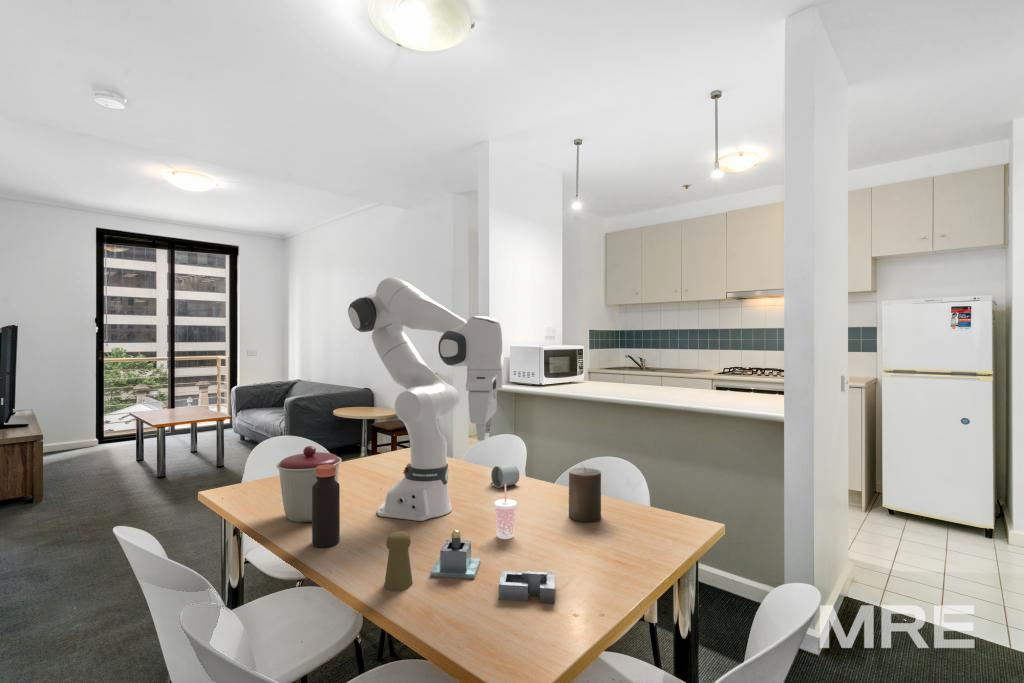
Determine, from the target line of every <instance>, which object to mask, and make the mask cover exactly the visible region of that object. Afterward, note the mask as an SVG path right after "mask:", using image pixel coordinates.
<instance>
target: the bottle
mask: <svg viewBox="0 0 1024 683" xmlns="http://www.w3.org/2000/svg"><path fill="white" fill-rule="evenodd" d="M335 474H336V466H335V465H332V464H326V465H320V466H317V467H316V478H317V482H316V483H315V484H314V485H313V486H312V521H311V544H312V546H313V547H314V548H319V549H321V548H322V549H323V548H324V549H325V548H329V547H330V548H331V547H333V546H336V545H338V544H339V543H340V538H341V537H340V533H341V532H340V527H341V526H340V522H341V521H340V519H341V518H340V516H341V514H340V511H341V509H340V507H341V506H340V505H341V504H340V500H341V499H340V496H341V495H340V492H341V490H340V489H341V488H340V486H341V485H340V483H339V482H338V480H337V481H336V480H335V476H336V475H335Z"/></svg>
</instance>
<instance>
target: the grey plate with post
mask: <svg viewBox="0 0 1024 683" xmlns="http://www.w3.org/2000/svg"><path fill="white" fill-rule="evenodd" d="M450 536H451V540H452V549H460V544H461V541H462V540H461V536H462V533H461V531H460V530H458V529H453V531H452V532H451V535H450ZM437 558H438V559H437V560H436V561H435V563H434V565H433V567H432V569H431V570H430V572H429V573H430V574H429V575H430V578H431V577H433V578H435V577H436V578H450V579H452V578H453V579H470V580H471V579H472V580H473V579H475V578H476V575H477V573H478V570H479V567H480V565H481V558H479V557H478V558H476V557H475V558H474V557H471V561H470V564H469V566H468V569H467V571H466V572H464V571H442V570H440V556H439V557H437Z"/></svg>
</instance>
